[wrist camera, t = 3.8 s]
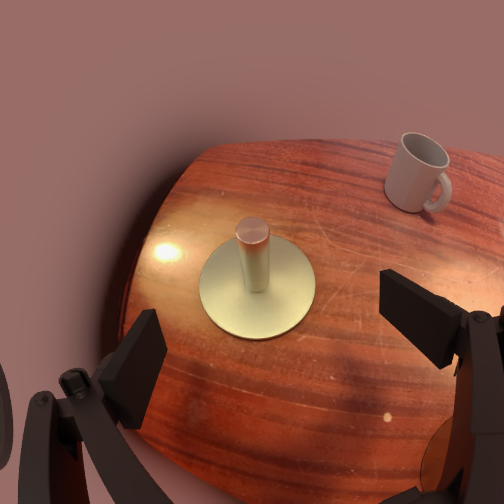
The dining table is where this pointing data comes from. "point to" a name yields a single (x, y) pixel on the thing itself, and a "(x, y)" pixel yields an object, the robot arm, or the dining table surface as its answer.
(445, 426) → the round metal container
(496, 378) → the robot arm
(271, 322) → the lid
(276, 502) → the dining table surface
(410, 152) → the cup
